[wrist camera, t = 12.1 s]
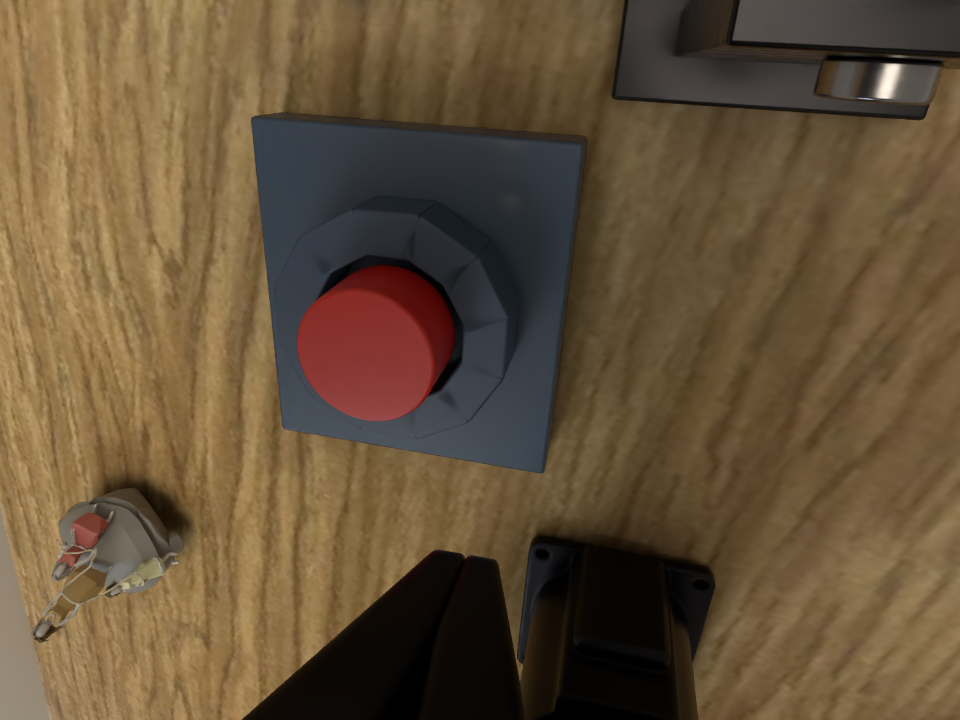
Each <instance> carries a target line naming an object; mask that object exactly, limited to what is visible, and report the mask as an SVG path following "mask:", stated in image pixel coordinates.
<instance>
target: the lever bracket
mask: <svg viewBox="0 0 960 720" xmlns="http://www.w3.org/2000/svg"><path fill="white" fill-rule="evenodd" d="M944 69H960V0H625V2H624V9H623V16H622V24H621V31H620V39H619V46H618V53H617V61H616V68H615V75H614V83H613V90H612V98H613V99H615V100H628V101H643V102H658V103H672V104H687V105H701V106H716V107H730V108H745V109H760V110H774V111H789V112H803V113H818V114H833V115H847V116H862V117H876V118H891V119H905V120H923V119H924V118H925V116H926V114H927V111H928V108H929V105H930V103H931V102H932V101H933V99H934V96H935V93H936V90H937V87H938V84H939V81H940V79H941V76H942V73H943V70H944Z"/></svg>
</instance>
